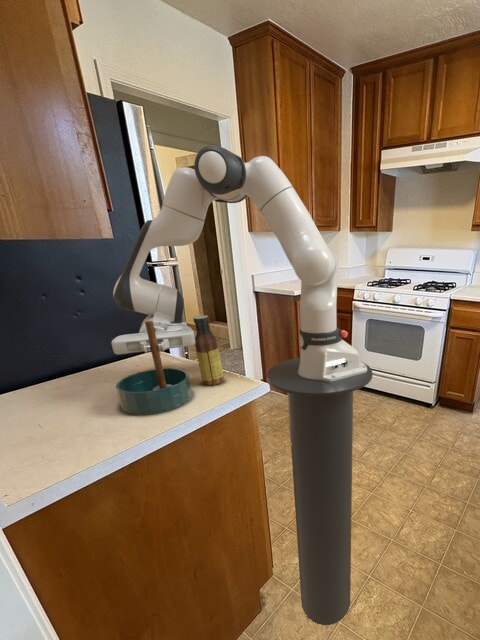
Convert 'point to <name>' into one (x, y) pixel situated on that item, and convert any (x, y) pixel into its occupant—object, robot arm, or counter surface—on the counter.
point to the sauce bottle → (207, 352)
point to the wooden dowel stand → (156, 356)
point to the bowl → (153, 392)
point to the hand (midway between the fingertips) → (154, 348)
